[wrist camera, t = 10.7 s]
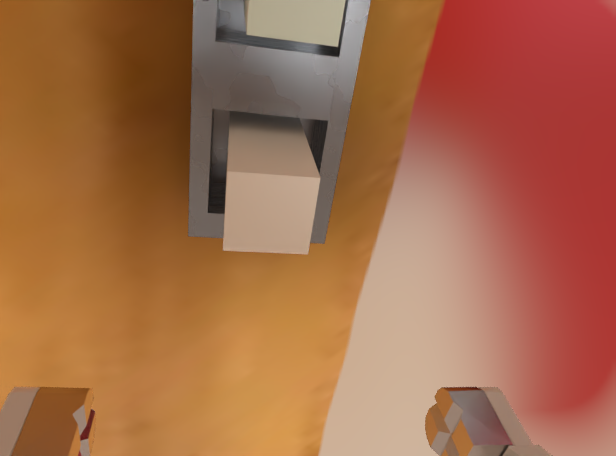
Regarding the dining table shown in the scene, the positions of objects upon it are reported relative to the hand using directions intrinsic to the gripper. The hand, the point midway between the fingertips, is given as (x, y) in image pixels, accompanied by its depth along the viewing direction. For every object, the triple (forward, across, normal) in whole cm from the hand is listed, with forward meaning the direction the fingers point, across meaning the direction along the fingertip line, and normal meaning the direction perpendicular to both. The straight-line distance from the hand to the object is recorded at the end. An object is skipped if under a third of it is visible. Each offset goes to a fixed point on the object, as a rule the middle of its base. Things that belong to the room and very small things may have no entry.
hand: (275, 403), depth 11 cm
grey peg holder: (+17, -1, -4) cm, 18 cm away
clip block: (+17, -1, 0) cm, 17 cm away
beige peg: (+17, 0, -8) cm, 19 cm away
